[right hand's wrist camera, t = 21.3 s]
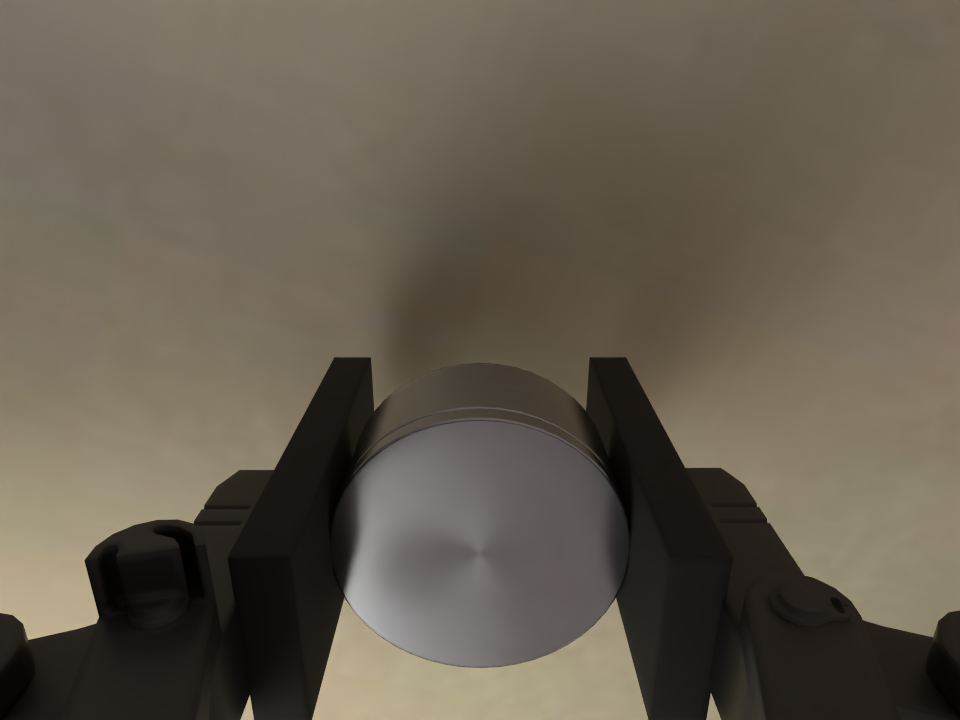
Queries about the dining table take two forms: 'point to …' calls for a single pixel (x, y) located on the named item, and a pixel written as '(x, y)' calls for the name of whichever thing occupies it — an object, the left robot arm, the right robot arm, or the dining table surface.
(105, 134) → the dining table surface
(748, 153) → the dining table surface
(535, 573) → the lid
